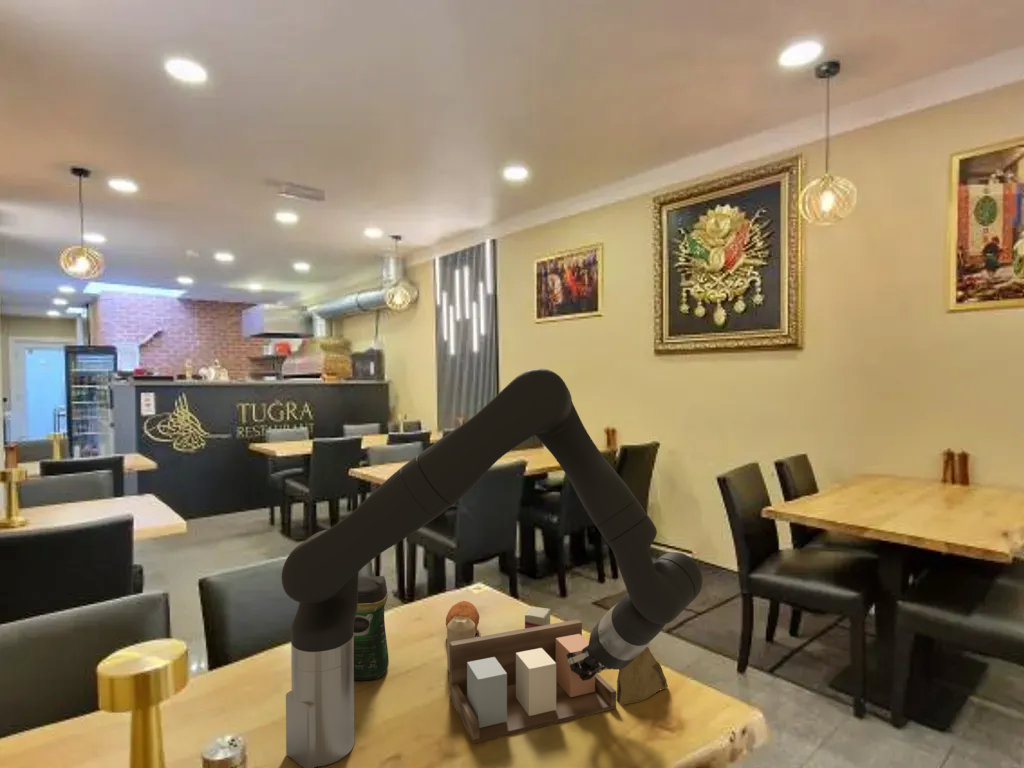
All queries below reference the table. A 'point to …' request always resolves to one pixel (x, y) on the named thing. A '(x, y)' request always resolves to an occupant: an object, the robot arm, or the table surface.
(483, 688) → the grey blue block
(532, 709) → the cream rectangular block
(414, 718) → the table surface
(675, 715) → the table surface
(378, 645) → the coffee jar
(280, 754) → the table surface
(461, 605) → the potato
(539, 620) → the small box
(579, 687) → the key terracotta
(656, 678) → the rock
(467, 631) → the candle
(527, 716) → the tray
